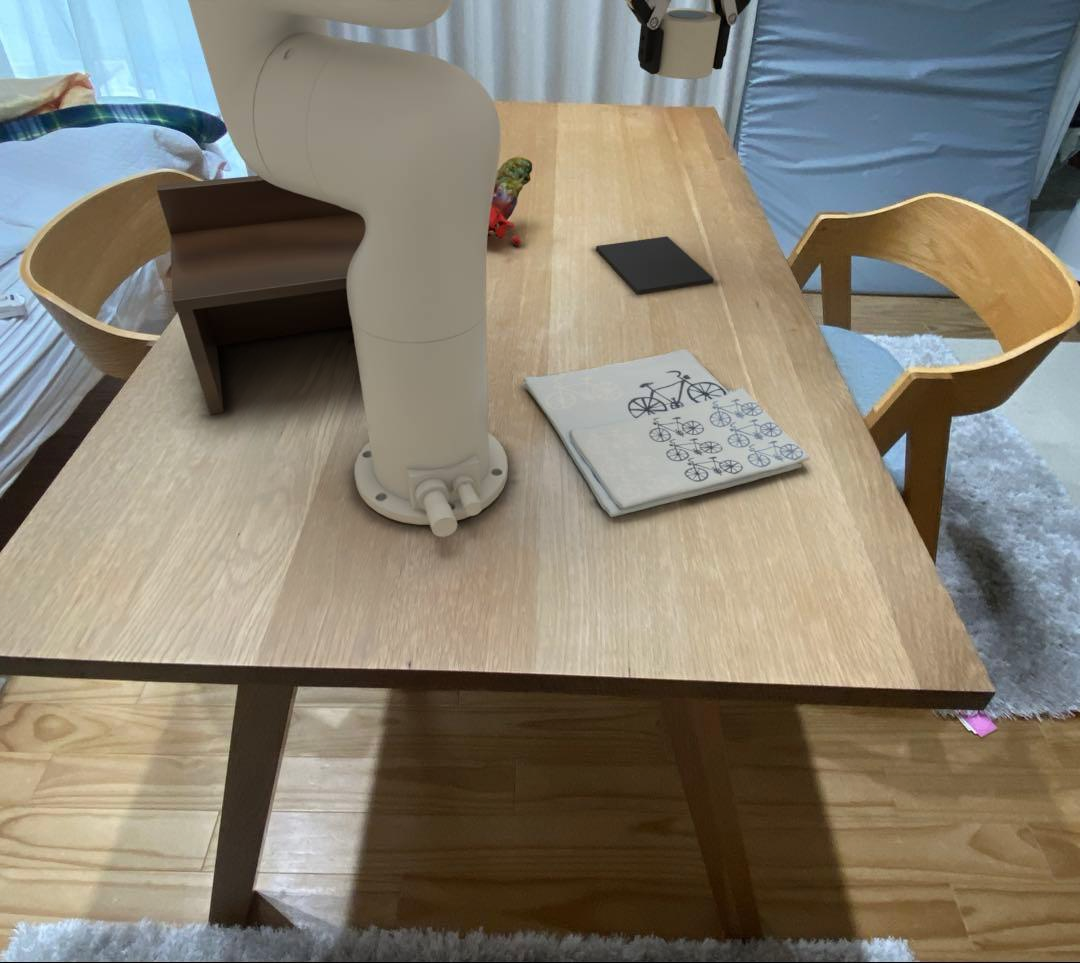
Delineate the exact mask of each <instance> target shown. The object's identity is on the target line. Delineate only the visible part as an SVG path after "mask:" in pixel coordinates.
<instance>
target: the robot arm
mask: <svg viewBox="0 0 1080 963" xmlns="http://www.w3.org/2000/svg"><path fill="white" fill-rule="evenodd" d="M453 2H454V0H187V3H188V6H189V9H190V13H191V16H192V19H193V23H194V27H195V30H196V33H197V36H198V41H199V44H200V47H201V51H202V54H203V57H204V61H205V64H206V68H207V72H208V74H209V78H210V81H211V85H212V89H213V92H214V96H215V98H216V103H217V106H218V109H219V112H220V115H221V117H222V120H223V124H224V126H225V130H226V131H227V133H228V136H229V138H230V140H231V142H232V144H233V146H234V148H235V149H236V151H237V153H238V155H239V156H240V158H241V159H242V160H243V163H245V165H247V167H248V168H249V169H250V170H251V172H253V173H254V174H256V176H260V177H261V178H263V179H264V180H266V181H267V182H269V183H271V184H273V185H275V186H278V187H280V188H283V189H285V190H289V191H292V192H294V193H298V194H301V195H304V196H308V197H311V198H314V199H318V200H321V201H325V202H328V203H331V204H335V205H338V206H340V207H342V208H345V209H348V210H351V211H353V212H356V213H358V214H360V215H361V216H362V217H363V219H364V221H365V225H366V230H365V234H364V238H363V240H362V242H361V244H360V245H359V247H358V249H357V250H356V252H355V254H354V255H353V258H352V260H351V262H350V265H349V268H348V273H347V299H348V305H349V312H350V317H351V321H352V325H351V327H352V334H353V339H354V347H355V353H356V354H355V355H356V359H357V360H356V361H357V365H358V366H357V367H358V374H359V381H360V386H361V388H360V389H361V393H362V400H363V407H364V414H365V421H366V427H367V434H368V440H369V441H368V442H367V443H366V444H365V445H363V447H362V448H361V449H360V451H359V453H358V455H357V457H356V460H355V464H354V480H355V485H356V489H357V491H358V493H359V496H360V498H361V499H362V500H363V501H364V502H365V503H366V504H367V506H368V507H370V509H373V511H375V512H376V513H378V514H380V515H382V516H384V517H386V518H388V519H390V520H394V521H397V522H400V523H405V524H412V525H422V526H423V525H425V526H427V525H429V526H430V529H431V532H432V534H434V536H436V537H439V538H444V537H449V536H451V535H453V534H454V533H455V532H456V530H458V525H459V524H458V521H460V520H465V519H466V518H469V517H474V516H477V515H479V514H480V513H481V512H482V511H483V510H484V509H486V508H487V507H489V506H490V505H491V504H492V503H493V502H494V501H495V500H496V499H497V498H498V497H499V495H501V493H502V492H503V490H504V488H505V485H506V483H507V480H508V471H509V465H508V464H509V463H508V457H507V454H506V450H505V448H504V447H503V445H502V443H501V442H500V441H499V440H498V438H496V437H495V436H494V435H493V434H492V433H491V432H489V378H488V377H489V376H488V375H489V374H488V371H489V370H488V321H487V320H488V319H487V318H488V316H487V312H488V311H487V310H488V309H487V308H488V306H487V254H488V253H487V252H488V238H487V236H488V226H489V217H490V211H491V204H492V198H493V192H494V187H495V182H496V176H497V171H498V170H499V164H500V155H501V146H502V145H501V144H502V131H501V130H502V129H501V123H500V122H501V121H500V117H499V114H498V110H497V108H496V106H495V102H494V101H493V98H492V97H491V95H490V94H489V92H488V91H487V90H486V88H485V87H484V85H482V84H481V82H480V81H478V79H477V78H475V77H474V76H473V75H472V74H471V73H469V72H468V71H466V70H465V69H463V68H461V67H460V66H458V65H456V64H454V63H451V62H449V61H447V60H445V59H443V58H441V57H437V56H433V55H430V54H427V53H422V52H418V51H413V50H408V49H403V48H398V47H393V46H387V45H382V44H379V43H378V44H377V43H372V42H366V41H356V40H353V39H346V38H342V37H336V36H332V35H330V30H329V22H328V21H332V22H337V23H338V22H339V23H343V24H349V25H355V26H362V27H369V28H376V29H384V30H411V29H416V28H422V27H426V26H428V25H429V24H431V23H434V22H435V21H437V20H438V19H441V17H443V16H444V14H445V13H446V12H447V10H448V9H449V8H450V7H451V5H452V4H453ZM625 2H626V5H627V6H628V8H629V10H630V11H631V13H632V14H633V15H634V17H635V19H636V21H637V22H638V23H639V24H640V32H639V42H638V50H637V59H638V62H639V67H640V69H642V70H644V71H645V72H647V73H648V74H650V75H657V73H658V72H659V68H660V60H661V52H662V44H663V35H664V32H663V30H662V29H660V28H659V26H660V22H661V20H662V18H663V16H664V14H665V12H666V10H667V8H669V5H670V4H671V2H672V0H625ZM710 3H711V10H712V12H713V13H716V14H718V15H719V16H720V17H721V20H720V26H719V32H718V38H717V44H716V50H715V56H714V62H713V69H714V70H722V69H723V66H724V65H723V64H724V58H725V57H726V55H727V51H728V45H729V39H730V34H731V29H732V28H731V27H732V26H734V25H736V24H737V22H738V21H739V20H738V19H739V15H741V13H742V12H743V11H744V10H745V9H746V8H747V6H749V4H750V3H751V0H710Z"/></svg>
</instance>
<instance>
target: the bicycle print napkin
mask: <svg viewBox="0 0 1080 963" xmlns="http://www.w3.org/2000/svg"><path fill="white" fill-rule="evenodd" d="M523 382H524V385H523V386H524V388H526V390H527V391H528V392H529V394H530V395H531V396H532V397H533V399H534V401H535V402H536V403H537V404H538V406H539V407H540V408H541V410H542V412H543V413H544V414H545V415H546V417H547V419H548V420H549V421H550V423H551V424H552V427H553V428H554V429H555V431H556V433H557V434H558V436H559V437H560V440H561V442H562V443H563V445H564V446H565V448H566V450H567V452H568V453H569V455H570V457H571V458H572V459H571V460H573V462H574V464H575V465H576V466H577V468H578V469H579V471H580V472H581V475H582V476H583V478H584V479H585V481H586V482H587V484H588V486H589V488H590V489H591V491H592V493H593V495H594V496H595V498H596V500H597V502H598V504H599V506H601V508H602V509H603V510H604V511H605V512H607V514H608V515H609V516H610V518H613V517H617V516H622V515H626V514H629V513H633V512H634V513H635V512H639V511H642V510H645V509H649V508H653V507H657V506H660V505H665V504H669V503H673V502H678V501H680V500H684V499H689V498H694V497H697V496H701V495H706V494H708V493H712V492H713V493H714V492H716V491H721V490H725V489H729V488H732V487H735V486H741V485H744V484H748V483H751V482H754V481H757V480H761V479H764V478H768V477H772V476H776V475H780V474H784V473H787V472H792V471H794V470H796V469H801V468H802V466H803V465H802V464H801V463H802V462H806V461H810V459H811V457H810V454H808V452H807V451H806V450H805V449H804V448H803V447H802V446H801V445H800V444H799V443H798V442H797V441H796V440H795V439H794V438H792V437H791V436H790V435H789V434H787V432H786V431H785V430H783V429H782V427H781V426H780V424H778V423H777V422H776V421H775V420H774V419H773V418H772V417H771V415H769V413H768V412H767V411H766V410H765V409H764V408H763V407H762V406H761V405H760V403H759V402H758V401H757V400H755V399H754V398H753V397H752V396H751V395H750V394H749V392H747V388H745V387H739V388H737V389H735V390H731V389H728V390H727V389H726V388H725V386H723V385H722V384H721V383H720V382H719V381H718V380H717V379H716V378H715V377H714V376H713V374H711V373H710V371H708V370H707V369H706V368H705V367H704V366H703V365H702V364H701V362H699V360H698V359H697V357H695V355H694V354H693V353H692V352H690V350H687V349H686V348H679V349H675V350H673V351H670V352H667V353H662V354H657V355H653V356H648V357H642V358H637V359H633V360H628V361H623V362H616V363H611V364H606V365H601V366H597V367H592V368H586V369H580V370H574V371H568V372H564V373H563V372H562V373H554V374H548V375H541V376H531V375H529V376H526V377H525V378H523Z"/></svg>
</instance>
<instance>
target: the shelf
mask: <svg viewBox="0 0 1080 963" xmlns="http://www.w3.org/2000/svg"><path fill="white" fill-rule="evenodd" d="M156 192H157V196H158V199H159V202H160V205H161V206H160V207H161V209H162V213H163V215H164V219H165V222H166V225H167V229H168V233H169V240H170V241H169V242H170V243H169V244H170V270H171V271H170V273H171V276H170V277H171V300H172V301H171V302H172V305H173V308H174V311H175V313H177V315H178V318H179V322H180V325H181V328H182V331H183V335H184V337H185V340H186V343H187V347H188V350H189V353H190V356H191V359H192V362H193V365H194V369H195V371H196V374H197V378H198V381H199V385H200V387H201V390H202V394H203V397H204V400H205V404H206V406H207V410H208V413H209V415H210V416H212V415H219V414H223V413H224V412H225V409H224V400H223V399H224V398H223V390H222V381H221V374H220V373H221V372H220V364H219V363H220V362H219V352H218V346H224V345H231V344H238V343H244V342H251V341H257V340H265V339H270V338H278V337H285V336H291V335H297V334H303V333H309V332H317V331H324V330H331V329H336V328H337V329H338V328H342V327H343V328H344V327H348V326H352V321H351V317H350V312H349V305H348V299H347V273H348V268H349V265H350V262H351V260H352V258H353V255H354V254H355V252H356V250H357V249H358V247H359V245H360V244H361V242H362V240H363V238H364V234H365V230H366V225H365V221H364V219H363V217H362V216H361V215H360V214H358V213H356V212H353V211H351V210H348V209H345V208H342V207H340V206H338V205H335V204H331V203H328V202H325V201H321V200H318V199H314V198H311V197H308V196H304V195H301V194H298V193H294V192H292V191H289V190H285V189H283V188H280V187H278V186H275V185H273V184H271V183H269V182H267V181H266V180H264V179H263V178H261V177H260V176H258V175H249V176H239V177H228V178H227V177H226V178H217V179H208V180H197V181H195V180H194V181H185V182H174V183H166V184H164V183H163V184H157V185H156Z"/></svg>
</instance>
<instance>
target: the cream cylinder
mask: <svg viewBox="0 0 1080 963" xmlns="http://www.w3.org/2000/svg"><path fill="white" fill-rule="evenodd" d="M720 20H721V17H720V16H719V15H718V14H716V13H713V11H709V10H705V9H699V8H690V7H668V8H667V10H666V12H665V14H664V16H663V18H662V20H661V22H660V26H659V28H660V29H662V30H663V32H664V35H663V44H662V52H661V60H660V68H659V72H658V73H657V74H656V75H657V76H660V77H665V78H669V79H670V78H671V79H678V80H694V79H695V80H698V79H703V78H706V77H709V76H711V75H712V73H713V69H714V68H713V62H714V56H715V50H716V44H717V38H718V32H719V26H720Z"/></svg>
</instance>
